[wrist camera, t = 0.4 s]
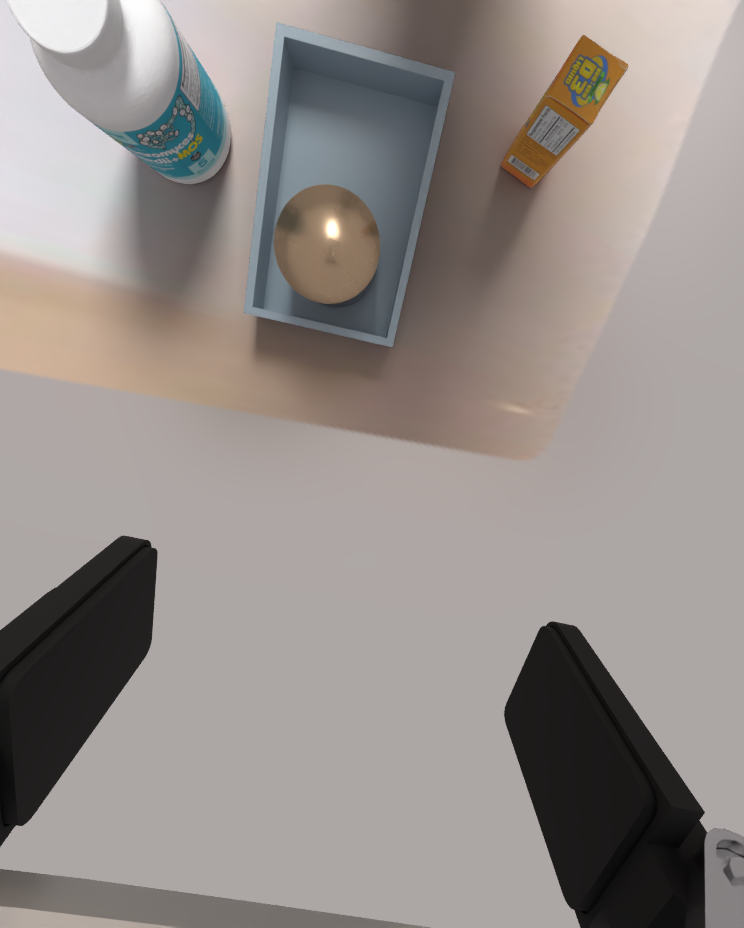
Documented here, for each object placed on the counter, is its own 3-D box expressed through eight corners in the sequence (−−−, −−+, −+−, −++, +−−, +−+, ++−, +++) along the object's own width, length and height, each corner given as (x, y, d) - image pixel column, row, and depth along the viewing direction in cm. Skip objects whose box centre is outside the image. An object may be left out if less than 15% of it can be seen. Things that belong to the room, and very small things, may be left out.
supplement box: (520, 121, 30) (587, 24, 21) (556, 148, 31) (637, 66, 21) (494, 166, 31) (547, 92, 22) (530, 191, 32) (596, 131, 22)
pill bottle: (148, 189, 32) (-5, 92, 19) (128, 73, 30) (-63, -127, 17) (241, 186, 32) (150, 86, 19) (228, 69, 29) (114, -136, 17)
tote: (288, 59, 29) (276, 22, 26) (445, 102, 30) (455, 72, 26) (257, 315, 35) (243, 313, 31) (390, 346, 35) (392, 347, 32)
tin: (299, 202, 32) (282, 171, 26) (387, 224, 32) (391, 199, 26) (286, 298, 34) (267, 290, 28) (368, 317, 34) (367, 314, 28)
